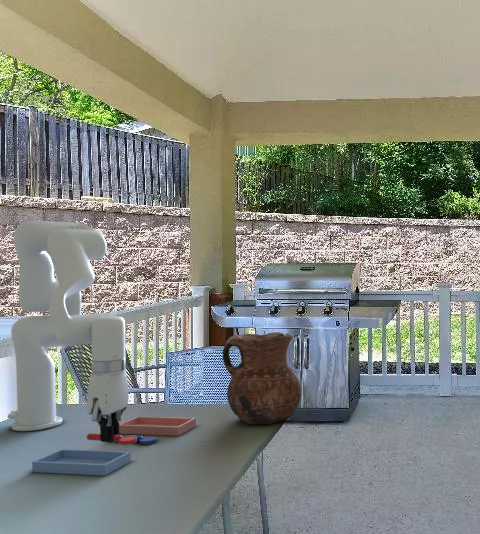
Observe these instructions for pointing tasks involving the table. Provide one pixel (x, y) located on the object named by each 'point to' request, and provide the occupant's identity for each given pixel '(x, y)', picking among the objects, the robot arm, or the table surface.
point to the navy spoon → (143, 439)
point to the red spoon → (116, 438)
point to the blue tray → (81, 462)
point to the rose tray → (157, 426)
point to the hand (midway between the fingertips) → (110, 439)
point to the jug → (262, 379)
